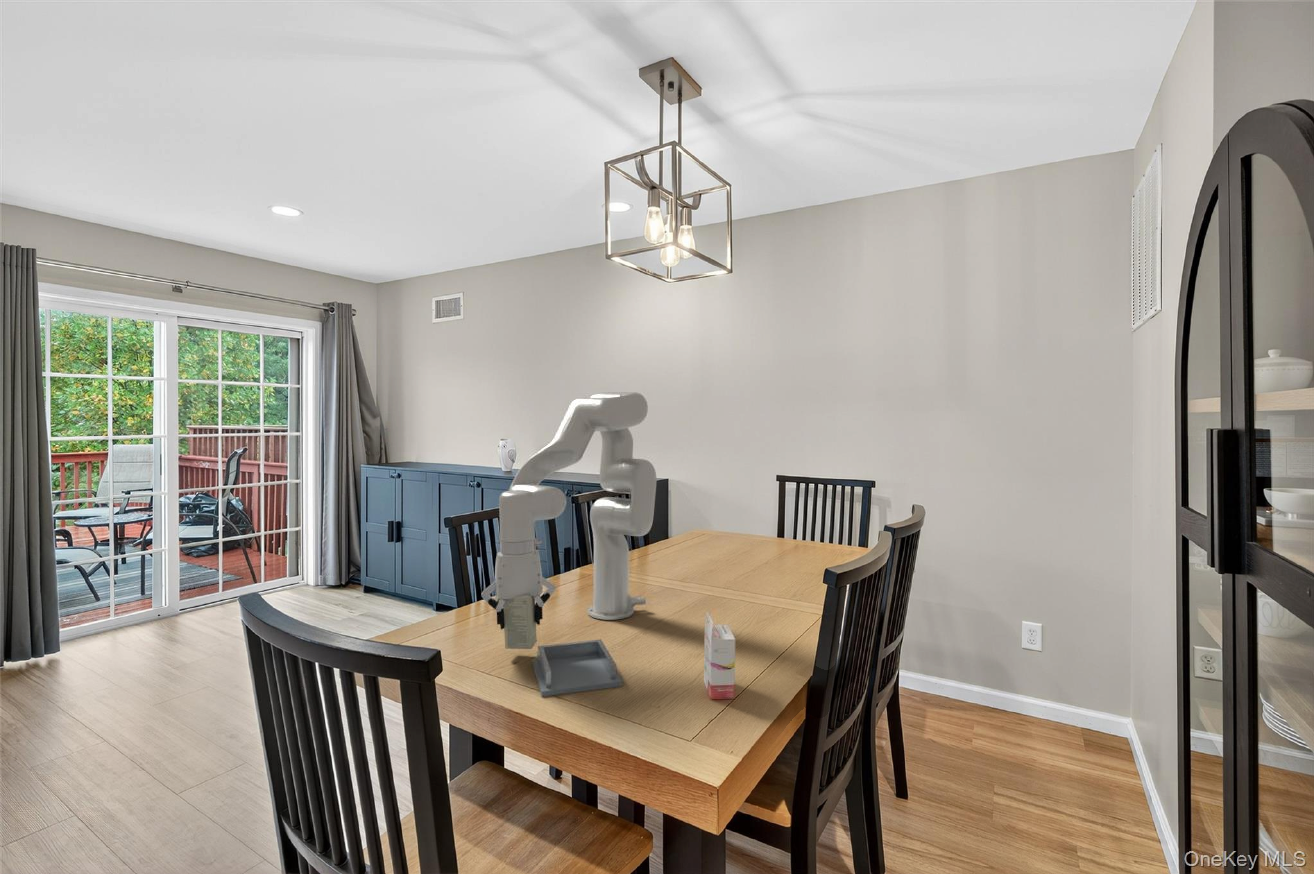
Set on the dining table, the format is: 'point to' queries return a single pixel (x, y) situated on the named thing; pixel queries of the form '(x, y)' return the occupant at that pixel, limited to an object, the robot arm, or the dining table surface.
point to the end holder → (575, 668)
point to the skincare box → (520, 622)
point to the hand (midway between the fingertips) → (519, 624)
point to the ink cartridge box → (719, 660)
